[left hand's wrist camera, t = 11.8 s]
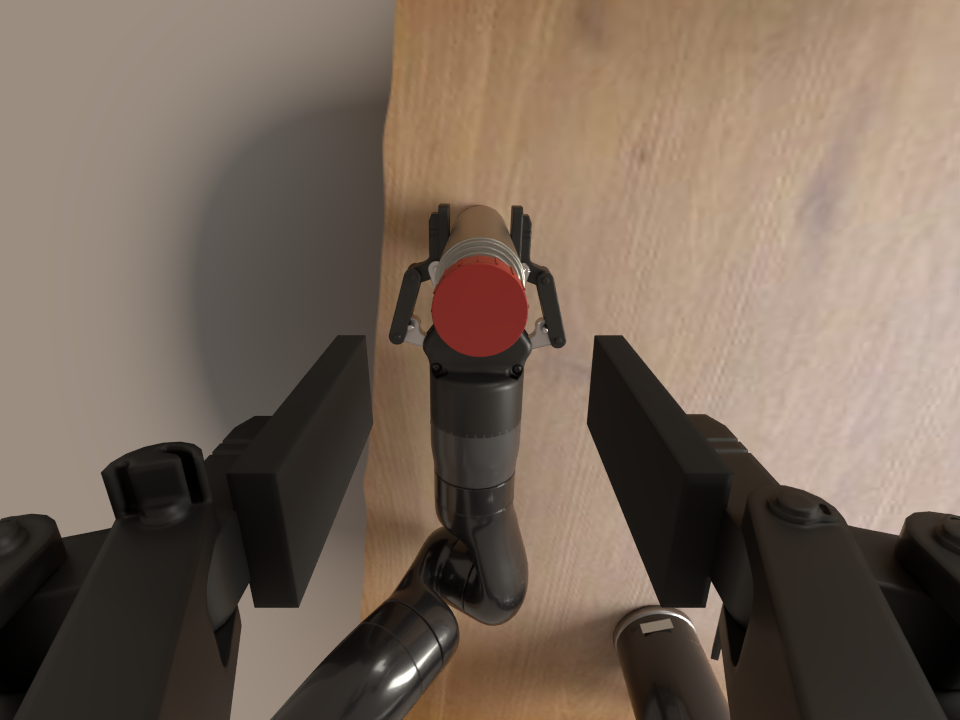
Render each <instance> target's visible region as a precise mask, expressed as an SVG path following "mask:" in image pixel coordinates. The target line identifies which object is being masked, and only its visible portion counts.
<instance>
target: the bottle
mask: <svg viewBox="0 0 960 720" xmlns="http://www.w3.org/2000/svg"><path fill="white" fill-rule="evenodd" d="M477 254H479V256H480V255H482V256H489V257H493V258H495V257H497V259H499V260H501V261H503V262H504V263H506V264H507V265H508V266H510V267H511V266H512V267H513V270H514V272H515V273H516V274H517V276H518V277H519V279H520V281H522V282H523V285H524V287H525V275H524V270H523V267H522V264H521V262H520V259H519V257H518V254H517V252H516V249H515V247H514V244H513V242H512V239H511V237H510V234H509V232H508V229H507V227H506V224H505V222H504V220H503V218H502V216H501V215H500V214H499V213H498V212H497V211H496V210H494V209H492V208H490V207H488V206H482V205H477V206H472V207H470V208H467V209H466V210H464V211H463V212H462V213H461V214H460V215H459V216H458V218H457V219H456V221H455V224H454V226H453V229H452V231H451V234H450V236H449V239H448V241H447V244H446V246H445V249H444V251H443V254H442V256H441V259H440V261H439V264H438V267H437V269H436V274H435V287H436V284H438V283H439V281H440V279H441V277H442V275H443V274H444V271H445V269H448V268H449V267H450V266H451V265H453V264H454V263H456V262H457V261H459V259H460V258H461V259H463V258H467V257H470V256H477Z"/></svg>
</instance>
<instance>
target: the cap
mask: <svg viewBox="0 0 960 720" xmlns="http://www.w3.org/2000/svg"><path fill="white" fill-rule="evenodd" d="M524 290H525V287H524V285H523V282H522V281H520V279H519V277H518V276H517V274H516V273H515V272H514V270H513V267H512V266H511V267H510V266H508V265H507V264H506V263H504V262H503V261H501V260H499V259H497V257H495V258H493V257H489V256H482V255H480V256H479V254H477V256H470V257H467V258H463V259H461V258H460V259H459V261H457V262H456V263H454V264H453V265H451V266H450V267H449V268H448V269H445V271H444V274H443V275H442V277H441V279H440V281H439V283H438V284H436V287H435V290H434V292H433V294H434V297H433V302H432V309H431V312H432V319H433V323H434V326H435V329H436V331H437V332H438V334H439V336H440V337H441V339H442V340H443V341H444V342H445V343H446V344H447V345H448V346H450V347H451V348H452V349H454V350H455V351H458V352H460V353H462V354H465V355H468V356H474V357H486V356H492V355H495V354H498V353H500V352H502V351H504V350H506V349H508V348H509V347H510V346H511V345H513V344H514V343H515V342H516V341H517V339H518V338H519V337H520V336H521V334H522V332H523V330H524V328H525V326H526V322H527V318H528V308H529V305H528V302H527V298H526V295H525V292H524Z"/></svg>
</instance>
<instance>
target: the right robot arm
mask: <svg viewBox="0 0 960 720" xmlns="http://www.w3.org/2000/svg"><path fill="white" fill-rule="evenodd" d="M531 229H532V223H531V220H530V217H529V215H528V214H523V207H522V206H512V208H511V228H510V237H511V239H512V242H513V244H514V247H515V249H516V252H517V254H518V257H519V259H520V262H521V264H522V267H523V270H524V275H525V284H526V281H528V282H530V283H533V284H535V285H536V287H537V291H538V296H539V300H540V305H541V310H542V314H543V317H541V318H539V319H537V320H536V322H535V330H534V332H533V333H531V334H529V335H528V333H527V332H526V331H525V329H524V330H523V332H522V334H521V336H520V337H519V338H518V339H517V341H516V342H515V343H514V344H513V345H511V346H510V347H509V348H508V349H506V350H504V351H502V352H500V353H498V354H495V355H492V356H486V357H474V356H468V355H465V354H462V353H460V352H458V351H455V350H454V349H452V348H451V347H450V346H448V345H447V344H446V343H445V342H444V341H443V340H442V339H441V337H440V336H439V334H438V332H437V331H436V329H435V326H434V324H433V325H432V326H431V328H430V329H429V330H428V332H427V333H426V332H424V331H423V330H422V329H421V326H420V323H421V321H420V318H419V317H418V316H417V315H414V314H413V311H414V307H415V304H416V300H417V296H418V292H419V288H420V285H421V282H424V281H427V280H430V279H431V280H432V283H433V286H434V289H435V274H436V269H437V267H438V264H439V261H440V259H441V256H442V254H443V251H444V249H445V246H446V244H447V241H448V239H449V236H450V204H439V208H438V212H433V213H432V214H431V217H430V220H429V258H428V259H427V260H425V261H423V262H420V263H413V264H411V265H410V266H409V268H408V270H407V271H406V272H405V274H404V277H403V281H402V285H401V289H400V293H399V297H398V301H397V305H396V309H395V313H394V317H393V321H392V325H391V329H390V333H389V339H390V341H391V342H392V343H393V344H401V343H403V341H404V342H407V343H411V344H414V345H418V346H422V347H423V350H424V352H425V354H426V355H427V357H428V359H429V363H430V412H431V420H430V424H431V447H432V453H433V459H434V487H435V508H436V514H437V517H438V519H439V521H440V522H441V524H442V525H443V527H440V528H438V529H436V530H435V531H434V532H432V533H431V534H430V535H429V537H428V538H427V539H426V541H425V542H424V544H423V546H422V547H421V549H420V551H419V553H418V554H417V556H416V558H415V560H414V561H413V563H412V565H411V566H410V568H409V569H408V571H407V572H406V574H405V575H404V577H403V578H402V580H401V581H400V583H399V585H398V586H397V588H396V589H395V590H394V592H393V593H392V595H391V596H390V597H389V598H388V599H387V600H386V601H385V602H383V603H382V604H381V605H380V606H379V607H378V608H377V609H376V610H375V611H373V612H372V613H371V614H370V615H369V616H368V617H367V618H366V619H365V620H364V621H363V622H362V623H360V624H359V625H358V626H357V627H356V628H355V629H354V630H353V631H352V632H351V633H350V634H349V635H348V636H347V637H346V638H345V639H344V640H343V641H342V642H341V643H340V644H339V645H338V646H337V647H336V648H335V649H334V650H333V651H332V652H331V653H330V654H329V655H328V656H327V657H326V658H325V659H324V660H323V661H322V662H321V663H320V665H319V666H318V667H317V668H316V669H315V670H314V671H313V672H312V673H311V674H310V676H309V677H308V678H307V679H306V680H305V681H304V682H303V683H302V685H301V686H300V687H299V688H298V689H297V690H296V691H295V692H294V694H293V695H292V696H291V697H290V698H289V699H288V700H287V701H286V703H285V704H284V705H283V706H282V707H281V708H280V709H279V710H278V711H277V713H276V714H275V715H274V716H273V717H272V718H271V719H270V720H402V719H403V718H404V717H405V716H406V714H407V713H408V712H409V711H410V710H411V709H412V707H413V706H414V705H415V704H416V702H417V701H418V700H419V699H420V697H421V696H422V695H423V694H424V693H425V691H426V690H427V689H428V688H429V686H430V685H431V684H432V683H433V681H434V680H435V679H436V678H437V676H438V675H439V674H440V672H441V671H442V670H443V669H444V668H445V666H446V665H447V664H448V663H449V661H450V660H451V658H452V657H453V655H454V654H455V652H456V650H457V647H458V644H459V635H460V632H459V627H458V623H457V620H456V618H455V616H454V614H453V612H452V611H451V609H450V608H449V606H448V605H450V606H452V607H453V608H455V609H457V610H459V611H460V612H462V613H464V614H466V615H468V616H469V617H471V618H473V619H475V620H476V621H478V622H480V623H483V624H486V625H491V626H496V625H501V624H503V623H505V622H507V621H509V620H510V619H511V618H512V617H514V616H515V615H516V613H517V612H518V611H519V609H520V608H521V606H522V604H523V601H524V599H525V595H526V591H527V586H528V562H527V557H526V552H525V548H524V544H523V540H522V536H521V533H520V529H519V525H518V520H517V516H516V513H515V510H514V505H513V497H514V481H515V465H516V460H517V455H518V450H519V443H520V427H521V411H522V393H523V376H524V364H525V361H526V359H527V358H528V356H529V355H530V353H531V350H532V349H534V348H539V347H543V346H547V345H552V346H553V347H554V348H561V347H563V346H564V345H565V343H566V337H565V332H564V327H563V322H562V317H561V312H560V308H559V303H558V298H557V293H556V288H555V283H554V278H553V276H552V275H551V273H550V271H549V270H548V268H546V267H544V266H539V265H537V264H534V263H532V262H531V261H530V246H531ZM447 604H448V605H447ZM613 641H614V646H615V649H616V653H617V655H618V657H619V661H620V664H621V668H622V671H623V675H624V679H625V683H626V686H627V690H628V693H629V697H630V700H631V704H632V708H633V711H634V715H635V718H636V720H730V712H729V705H728V703H727V701H726V699H725V696H724V694H723V692H722V690H721V688H720V686H719V683H718V681H717V679H716V677H715V675H714V672H713V670H712V668H711V666H710V664H709V661H708V659H707V657H706V655H705V652H704V650H703V648H702V646H701V644H700V641H699V639H698V637H697V633H696V630H695V628H694V626H693V624H692V622H691V620H690V619H689V617H688V616H687V615H686V614H684V613H683V612H681V611H679V610H677V609H675V608H661V606H651V607H645V608H642V609H639V610H636V611H634V612H632V613H630V614H629V615H627V616H626V617H625V618H624V619H623V620H622V621H621V622H620V623H619V624H618V626H617V627H616V629H615V632H614V636H613Z"/></svg>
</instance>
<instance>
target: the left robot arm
mask: <svg viewBox="0 0 960 720" xmlns="http://www.w3.org/2000/svg"><path fill="white" fill-rule="evenodd" d="M372 425H373V417H372V405H371V394H370V382H369V371H368V359H367V348H366V337H365V335H338V336H337V337H336V338H335V339H334V341H333V342H332V343H331V344H330V346H329V347H328V348H327V349H326V350H325V352H324V353H323V354H322V355H321V357H320V358H319V359H318V360H317V362H316V363H315V364H314V365H313V366H312V368H311V369H310V370H309V371H308V373H307V374H306V375H305V376H304V378H303V379H302V380H301V381H300V382H299V384H298V385H297V386H296V387H295V389H294V390H293V391H292V392H291V394H290V395H289V396H288V397H287V399H286V400H285V401H284V402H283V403H282V405H281V406H280V407H279V408H278V410H277V411H276V412H275V413H274V415H273V416H254V417H252V418H251V419H249V420H247V421H245V422H244V423H242V424H240V425H238V426H237V427H235V428H234V429H233V430H232V431H231V432H230V433H229V435H228V436H227V437H226V438H225V439H224V440H223V443H222V444H219V445H218V447H217V448H216V449H215V450H214V451H213V452H212V453H213V454H212V455H209V456H208V458H207V459H206V460H205V461H204V458H203V454H202V450H201V449H200V448H199V447H197V446H196V445H194V444H191V443H185V442H168V443H160V444H155V445H151V446H146V447H143V448H140V449H138V450H135V451H132V452H130V453H127V454H125V455H123V456H122V457H120V458H118V459H116V460H115V461H113V462H111V463H110V464H109V465H108V466H107V467H106V468H105V469H104V470H103V471H102V472H101V475H102V478H103V481H104V484H105V487H106V490H107V493H108V496H109V500H110V503H111V506H112V509H113V512H114V515H115V518H116V520H115V522H114V524H113V526H112V528H109V529H104V530H99V531H94V532H89V533H84V534H79V535H74V536H69V537H64V538H61V535H60V533H59V530H58V527H57V525H56V522H55V520H53V519H52V518H50V517H49V516H47V515H40V514H27V515H20V516H11V517H7V518H3V519H1V520H0V720H230V714H231V705H232V698H233V689H234V682H235V674H236V666H237V658H238V650H239V642H240V634H241V619H240V613H239V609H238V605H237V604H238V602H239V600H240V599H241V597H242V595H243V593H244V591H245V589H246V587H247V586H248V584H250V588H251V593H252V598H253V602H254V607H255V608H299V605H300V603H301V600H302V598H303V595H304V593H305V591H306V588H307V586H308V583H309V581H310V578H311V576H312V573H313V571H314V568H315V566H316V563H317V561H318V558H319V556H320V554H321V551H322V549H323V546H324V544H325V541H326V539H327V536H328V534H329V531H330V529H331V526H332V524H333V521H334V519H335V517H336V514H337V512H338V509H339V507H340V504H341V502H342V499H343V497H344V494H345V492H346V489H347V487H348V485H349V482H350V480H351V477H352V475H353V472H354V470H355V467H356V465H357V462H358V460H359V457H360V455H361V452H362V450H363V448H364V445H365V443H366V440H367V438H368V435H369V433H370V430H371V428H372ZM587 425H588V428H589V430H590V433H591V435H592V438H593V440H594V443H595V445H596V448H597V450H598V452H599V455H600V457H601V460H602V462H603V465H604V467H605V470H606V472H607V475H608V477H609V480H610V482H611V485H612V487H613V489H614V492H615V494H616V497H617V499H618V502H619V504H620V507H621V509H622V512H623V514H624V517H625V519H626V522H627V524H628V526H629V529H630V531H631V534H632V536H633V539H634V541H635V544H636V546H637V549H638V551H639V554H640V556H641V559H642V561H643V563H644V566H645V568H646V571H647V573H648V576H649V578H650V581H651V583H652V586H653V588H654V591H655V593H656V596H657V598H658V600H659V603H660V605H661V608H705V607H706V602H707V598H708V593H709V588H710V584H711V581H712V583H713V585H714V587H715V589H716V590H717V592H718V594H719V596H720V598H721V599H722V601H723V605H722V609H721V613H720V618H719V622H718V626H717V631H716V635H715V639H714V644H713V648H712V654H711V659H714V660H718V658H719V654H720V650H721V649H722V656H723V664H724V672H725V680H726V688H727V696H728V704H729V712H730V720H960V516H956V515H952V514H943V513H937V512H930V511H929V512H917V513H913V514H912V515H910V516H908V517H907V518H906V519H905V522H904V525H903V527H902V530H901V533H900V535H899V536H898V535H893V534H888V533H883V532H878V531H873V530H868V529H862V528H857V527H853V526H849V525H847V523H846V521H845V519H844V518H843V516H842V515H841V514H840V513H839V512H838V510H837V509H836V508H835V507H833V506H832V505H830V504H829V503H828V502H826V501H825V500H823V499H822V498H820V497H818V496H815V495H813V494H811V493H809V492H806V491H804V490H801V489H797V488H793V487H789V486H784V485H780V484H779V483H778V482H777V481H776V480H775V479H774V478H773V477H772V476H771V475H770V473H769V472H768V471H767V470H766V469H765V468H764V467H763V466H762V465H761V464H760V463H759V462H758V460H757V459H756V458H755V457H754V456H753V455H752V454H751V453H748V450H747V449H746V447H745V446H744V445H743V444H742V443H741V442H738V439H737V438H736V437H735V436H734V435H733V433H732V432H731V431H730V430H729V429H728V428H727V427H726V426H725V425H723V424H721V423H720V422H718V421H716V420H714V419H713V418H711V417H709V416H708V415H706V414H686V413H685V412H684V411H683V410H682V408H681V407H680V406H679V405H678V403H677V402H676V401H675V400H674V398H673V397H672V396H671V395H670V394H669V392H668V391H667V390H666V389H665V387H664V386H663V385H662V384H661V382H660V381H659V380H658V379H657V378H656V376H655V375H654V374H653V373H652V371H651V370H650V369H649V368H648V366H647V365H646V364H645V363H644V362H643V360H642V359H641V358H640V357H639V355H638V354H637V353H636V352H635V350H634V349H633V348H632V347H631V346H630V344H629V343H628V342H627V341H626V339H625V338H624V337H623V336H622V335H595V336H594V348H593V359H592V371H591V382H590V394H589V405H588V417H587Z"/></svg>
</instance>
